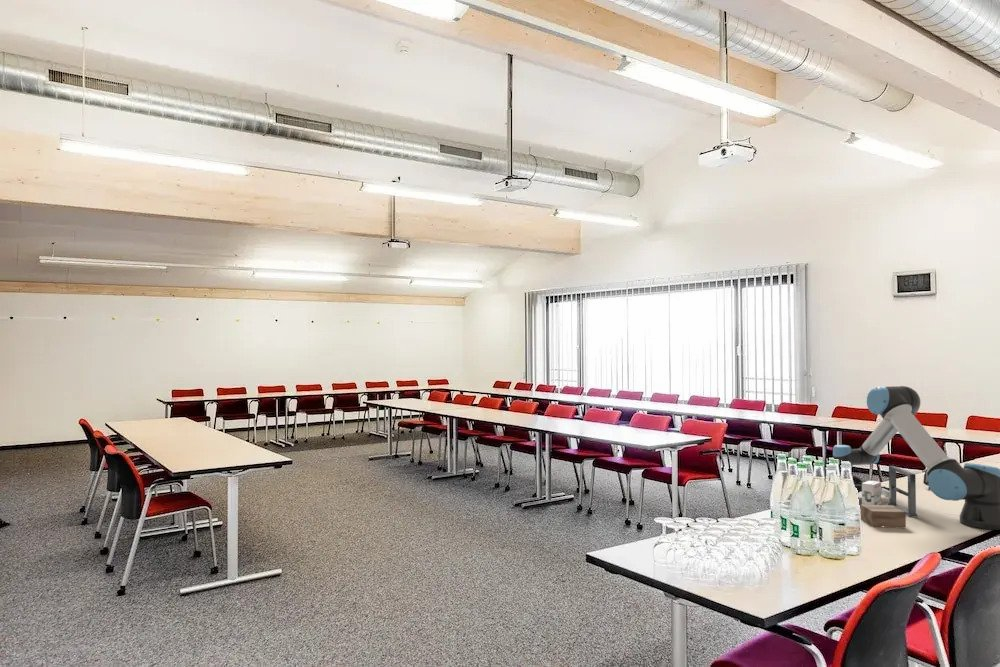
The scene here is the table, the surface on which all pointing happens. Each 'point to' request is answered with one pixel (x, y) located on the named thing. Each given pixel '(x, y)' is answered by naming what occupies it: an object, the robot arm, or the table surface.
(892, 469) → the rack
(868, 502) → the ink box
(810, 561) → the table surface
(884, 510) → the walnut plinth
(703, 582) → the table surface
